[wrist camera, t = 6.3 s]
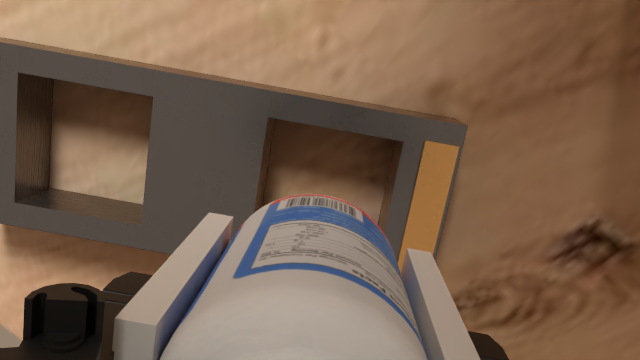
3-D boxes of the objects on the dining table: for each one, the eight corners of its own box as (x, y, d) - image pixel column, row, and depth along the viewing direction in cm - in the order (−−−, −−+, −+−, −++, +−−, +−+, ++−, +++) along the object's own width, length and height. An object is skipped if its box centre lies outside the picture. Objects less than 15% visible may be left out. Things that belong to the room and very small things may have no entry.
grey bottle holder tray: (3, 37, 26) (-43, 34, 23) (453, 118, 26) (469, 126, 23) (0, 200, 28) (-43, 217, 25) (416, 275, 28) (425, 301, 25)
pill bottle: (298, 376, 17) (238, 787, 7) (193, 256, 16) (-30, 540, 6) (433, 286, 16) (569, 623, 6) (329, 153, 15) (303, 307, 5)
